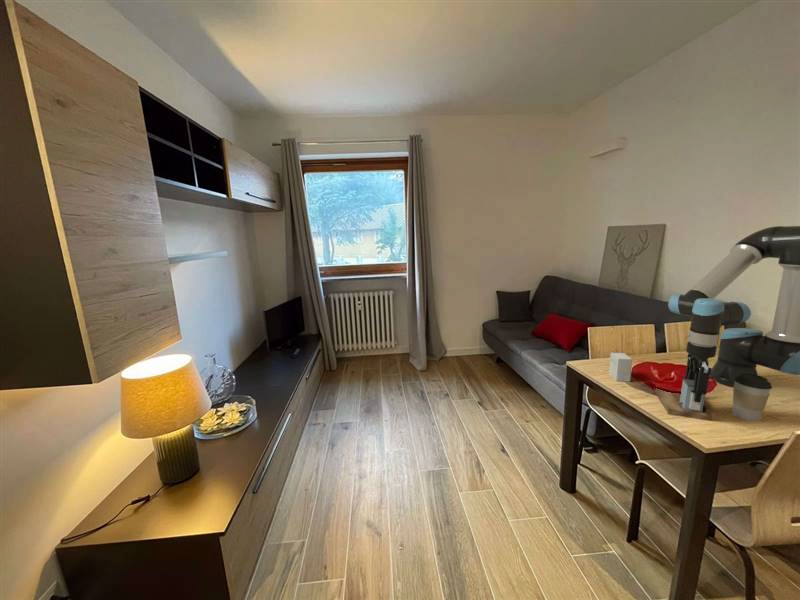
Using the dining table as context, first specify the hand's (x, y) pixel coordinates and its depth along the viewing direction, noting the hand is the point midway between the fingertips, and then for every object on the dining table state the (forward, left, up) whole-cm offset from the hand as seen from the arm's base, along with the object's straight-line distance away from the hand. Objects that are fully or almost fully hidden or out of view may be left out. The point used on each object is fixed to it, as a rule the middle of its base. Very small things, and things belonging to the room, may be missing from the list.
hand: (691, 405), depth 118 cm
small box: (+18, -24, -3) cm, 31 cm away
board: (+1, -6, -3) cm, 7 cm away
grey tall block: (0, 0, -1) cm, 1 cm away
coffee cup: (-17, -4, -3) cm, 17 cm away
